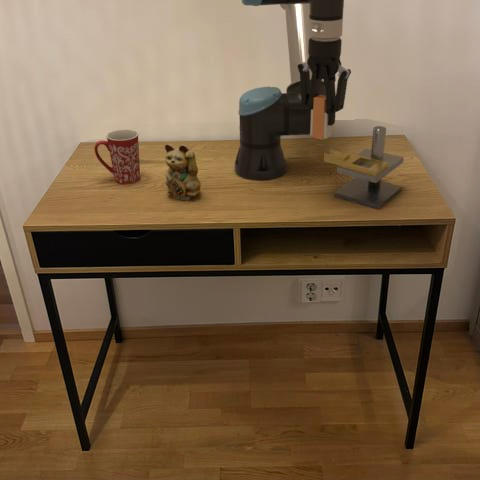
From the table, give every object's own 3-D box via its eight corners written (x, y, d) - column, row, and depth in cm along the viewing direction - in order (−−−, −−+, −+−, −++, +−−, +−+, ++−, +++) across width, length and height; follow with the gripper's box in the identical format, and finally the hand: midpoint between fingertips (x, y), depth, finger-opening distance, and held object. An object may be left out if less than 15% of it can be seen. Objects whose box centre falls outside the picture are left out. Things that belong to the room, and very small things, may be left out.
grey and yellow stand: (317, 193, 158) (320, 132, 149) (346, 174, 168) (350, 115, 160) (376, 211, 149) (383, 146, 140) (403, 189, 159) (411, 128, 150)
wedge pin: (312, 137, 146) (313, 97, 141) (318, 133, 148) (320, 94, 143) (322, 139, 145) (324, 99, 139) (328, 136, 147) (330, 96, 141)
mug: (144, 171, 174) (139, 127, 167) (142, 184, 166) (137, 139, 159) (101, 173, 173) (94, 130, 167) (97, 186, 166) (90, 141, 159)
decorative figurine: (162, 199, 158) (157, 146, 150) (173, 186, 164) (169, 135, 157) (196, 203, 155) (193, 149, 148) (206, 189, 162) (203, 138, 154)
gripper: (286, 36, 136) (285, 133, 148) (348, 45, 127) (341, 147, 139) (304, 31, 141) (301, 125, 153) (364, 38, 132) (356, 137, 144)
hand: (320, 135), depth 146 cm, fingers closed on wedge pin, 3 cm apart
